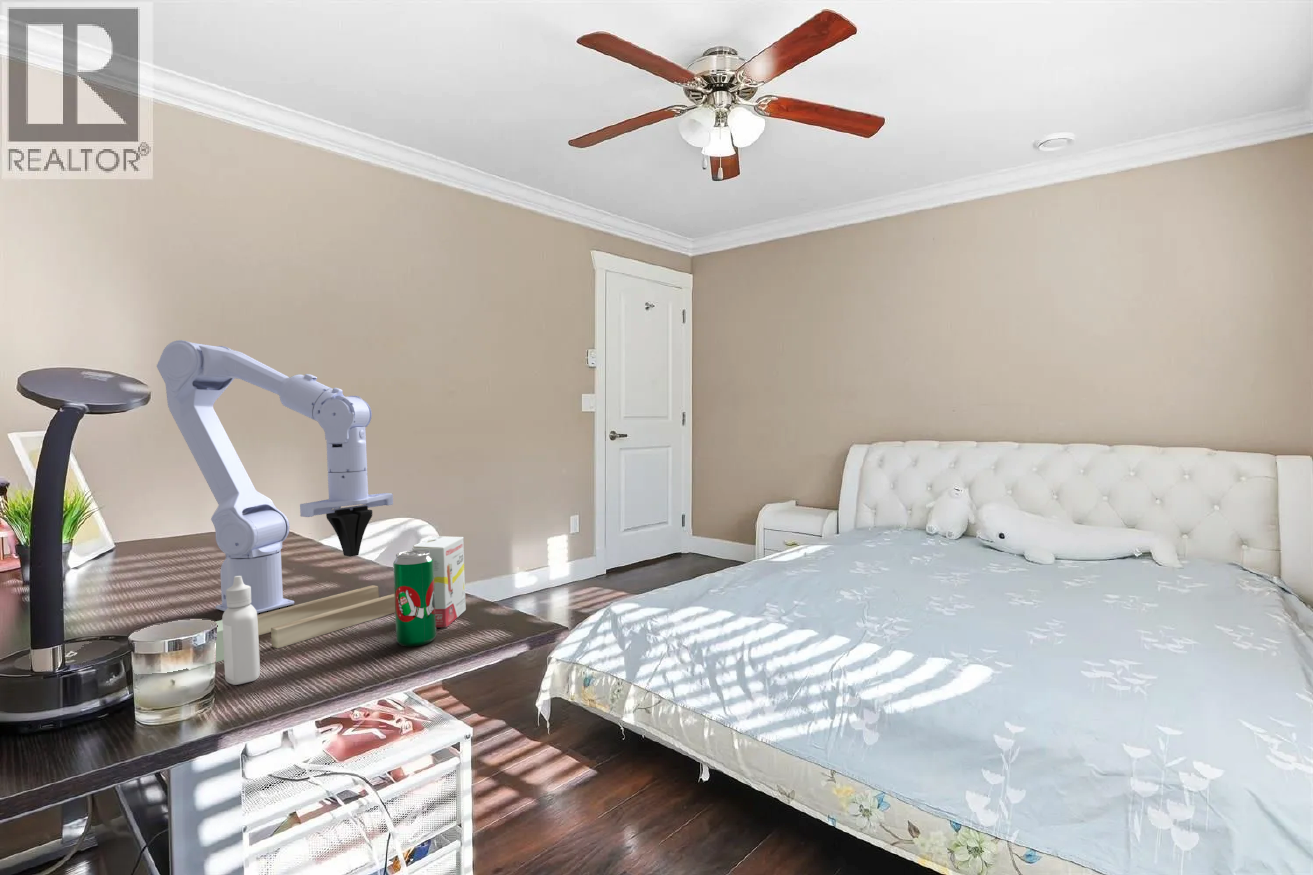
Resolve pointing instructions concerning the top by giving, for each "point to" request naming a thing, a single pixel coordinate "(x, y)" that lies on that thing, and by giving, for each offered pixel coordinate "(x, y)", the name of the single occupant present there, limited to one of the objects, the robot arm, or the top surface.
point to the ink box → (447, 576)
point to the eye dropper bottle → (240, 635)
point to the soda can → (414, 598)
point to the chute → (324, 615)
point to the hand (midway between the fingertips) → (351, 555)
